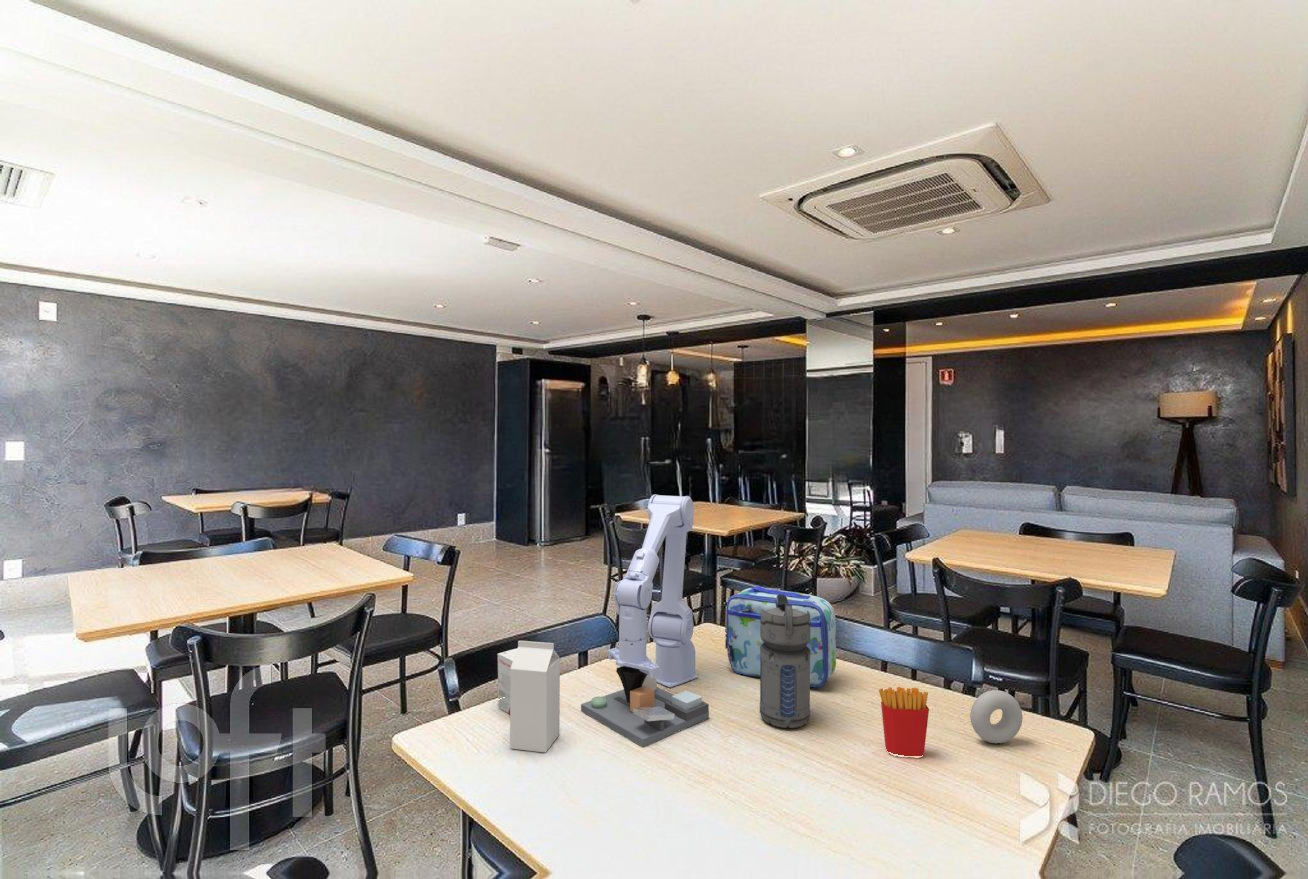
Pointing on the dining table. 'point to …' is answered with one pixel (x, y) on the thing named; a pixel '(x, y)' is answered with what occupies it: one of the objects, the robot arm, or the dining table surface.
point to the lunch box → (747, 641)
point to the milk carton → (534, 696)
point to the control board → (637, 729)
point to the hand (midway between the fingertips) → (632, 701)
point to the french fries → (904, 720)
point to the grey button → (686, 700)
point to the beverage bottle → (785, 665)
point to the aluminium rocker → (653, 713)
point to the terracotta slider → (641, 698)
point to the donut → (1009, 719)
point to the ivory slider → (650, 682)
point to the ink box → (504, 678)
